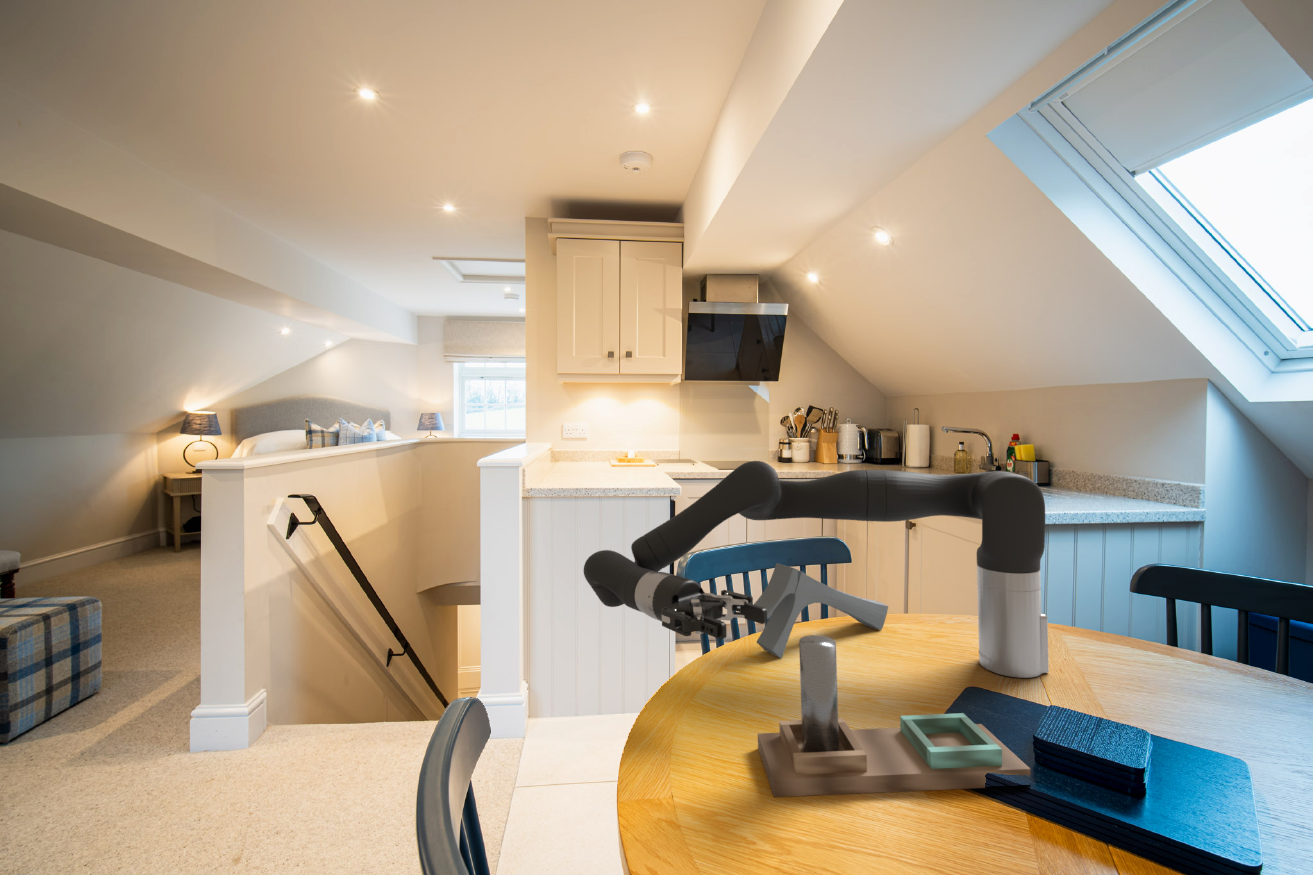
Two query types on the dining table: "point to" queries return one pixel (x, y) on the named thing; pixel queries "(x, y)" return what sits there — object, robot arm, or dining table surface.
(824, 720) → the peg
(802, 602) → the grey bent piece
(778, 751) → the brown insertion board
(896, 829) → the dining table surface
